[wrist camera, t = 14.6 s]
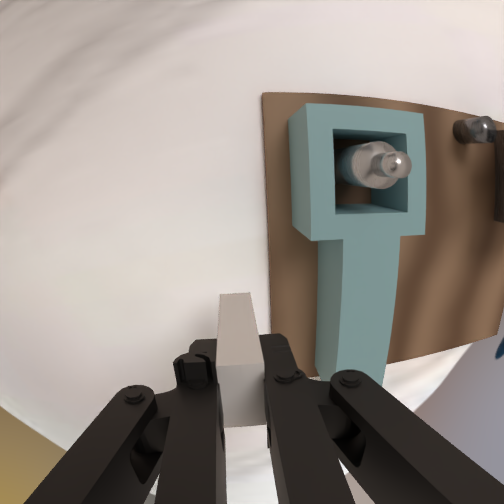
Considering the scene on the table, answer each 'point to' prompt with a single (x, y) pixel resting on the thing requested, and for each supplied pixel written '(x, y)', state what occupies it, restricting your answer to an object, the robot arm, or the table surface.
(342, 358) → the link
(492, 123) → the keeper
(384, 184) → the peg
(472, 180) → the board
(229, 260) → the table surface
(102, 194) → the table surface
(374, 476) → the robot arm
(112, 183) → the table surface
